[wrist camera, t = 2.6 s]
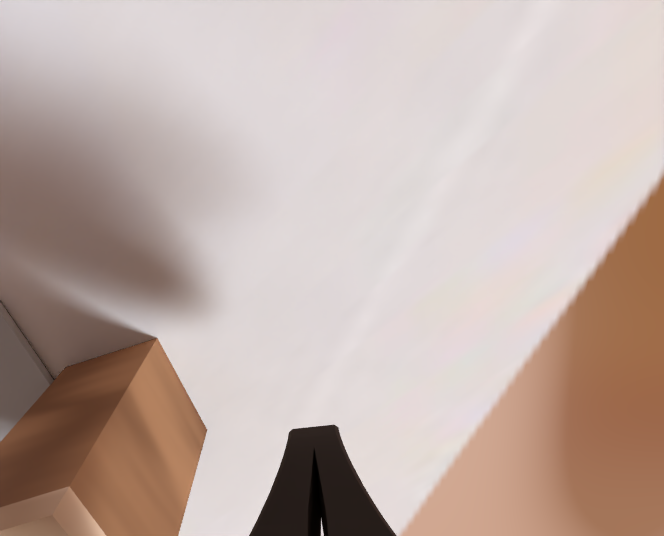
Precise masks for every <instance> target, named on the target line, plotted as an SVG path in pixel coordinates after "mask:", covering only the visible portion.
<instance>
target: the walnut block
mask: <svg viewBox="0 0 664 536" xmlns="http://www.w3.org/2000/svg"><path fill="white" fill-rule="evenodd" d="M206 432H207V429H206V427H205V425H204V423H203V422H202V420H201V418H200V416H199V414H198V412H197V410H196V409H195V407H194V405H193V403H192V401H191V399H190V398H189V396H188V394H187V392H186V390H185V388H184V387H183V385H182V383H181V381H180V379H179V377H178V375H177V374H176V372H175V370H174V368H173V366H172V364H171V363H170V361H169V359H168V357H167V355H166V353H165V352H164V350H163V348H162V346H161V344H160V342H159V340H158V339H157V338H156V339H153V340H150V341H147V342H144V343H140V344H137V345H134V346H131V347H128V348H125V349H122V350H118V351H115V352H112V353H109V354H106V355H103V356H100V357H97V358H93V359H90V360H87V361H84V362H81V363H78V364H75V365H71V366H68V367H65V369H64V370H63V371H62V372H61V373H60V374H59V376H58V377H57V378H56V379H55V380H54V381H53V382H52V384H51V385H50V386H49V387H48V388H47V389H46V390H45V392H44V393H43V394H42V395H41V396H40V397H39V398H38V400H37V401H36V402H35V403H34V404H33V405H32V406H31V408H30V409H29V410H28V411H27V412H26V413H25V414H24V416H23V417H22V418H21V419H20V420H19V421H18V422H17V424H16V425H15V426H14V427H13V428H12V429H11V430H10V432H9V433H8V434H7V435H6V436H5V437H4V438H3V440H2V441H1V442H0V536H178V534H179V531H180V527H181V523H182V520H183V516H184V512H185V509H186V505H187V501H188V498H189V494H190V490H191V487H192V483H193V480H194V476H195V472H196V469H197V465H198V461H199V458H200V454H201V450H202V447H203V443H204V440H205V436H206Z"/></svg>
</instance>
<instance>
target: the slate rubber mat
mask: <svg viewBox="0 0 664 536" xmlns="http://www.w3.org/2000/svg"><path fill="white" fill-rule="evenodd" d="M53 381H54V380H53V378H52V377H51V375H50V374H49V372H48V371H47V369H46V368H45V366H44V365H43V363H42V362H41V360H40V359H39V358H38V356H37V355H36V353H35V352H34V350H33V349H32V347H31V346H30V344H29V343H28V341H27V340H26V338H25V337H24V335H23V334H22V333H21V331H20V330H19V328H18V327H17V325H16V324H15V322H14V321H13V319H12V318H11V316H10V315H9V313H8V312H7V310H6V309H5V308H4V306H3V305H2V303H1V302H0V442H1V441H2V440H3V438H4V437H5V436H6V435H7V434H8V433H9V432H10V430H11V429H12V428H13V427H14V426H15V425H16V424H17V422H18V421H19V420H20V419H21V418H22V417H23V416H24V414H25V413H26V412H27V411H28V410H29V409H30V408H31V406H32V405H33V404H34V403H35V402H36V401H37V400H38V398H39V397H40V396H41V395H42V394H43V393H44V392H45V390H46V389H47V388H48V387H49V386H50V385H51V384H52V382H53Z"/></svg>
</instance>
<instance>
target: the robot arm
mask: <svg viewBox="0 0 664 536" xmlns="http://www.w3.org/2000/svg"><path fill="white" fill-rule="evenodd" d="M321 519H322V526H323V532H324V536H396V534H395V533H394V532H393V530H392V529H391V528H390V526H389V525H388V523H387V522H386V521H385V519H384V518H383V516H382V515H381V513H380V512H379V510H378V509H377V507H376V505H375V504H374V502H373V501H372V499H371V497H370V496H369V494H368V493H367V491H366V489H365V487H364V486H363V484H362V482H361V480H360V478H359V476H358V475H357V473H356V471H355V469H354V467H353V465H352V463H351V461H350V459H349V457H348V454H347V452H346V450H345V447H344V445H343V442H342V440H341V437H340V433H339V429H338V427H337V426H335V425H327V426H318V427H308V428H299V429H292V430H291V431H290V432H289V436H288V441H287V445H286V449H285V452H284V456H283V459H282V462H281V465H280V468H279V470H278V473H277V476H276V478H275V481H274V483H273V486H272V488H271V491H270V493H269V496H268V498H267V500H266V502H265V504H264V507H263V509H262V511H261V513H260V515H259V517H258V520H257V522H256V524H255V526H254V528H253V529H252V531H251V533H250V535H249V536H321Z"/></svg>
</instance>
